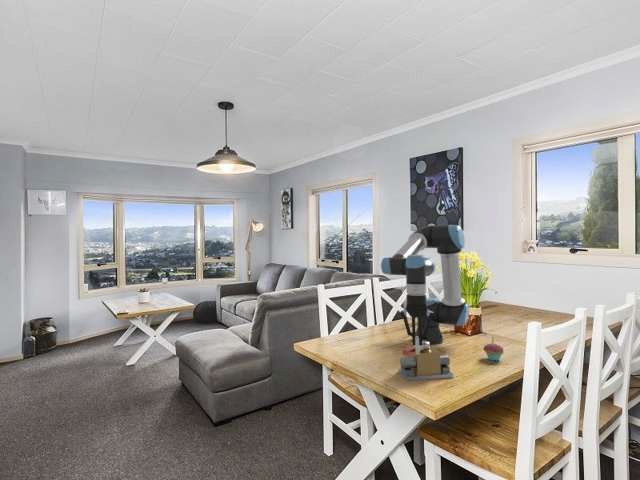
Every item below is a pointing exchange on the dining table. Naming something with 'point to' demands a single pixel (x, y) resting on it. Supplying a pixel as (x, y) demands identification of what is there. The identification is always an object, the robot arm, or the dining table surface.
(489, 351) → the cupcake
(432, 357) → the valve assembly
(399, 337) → the dining table surface
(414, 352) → the lever
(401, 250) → the robot arm
